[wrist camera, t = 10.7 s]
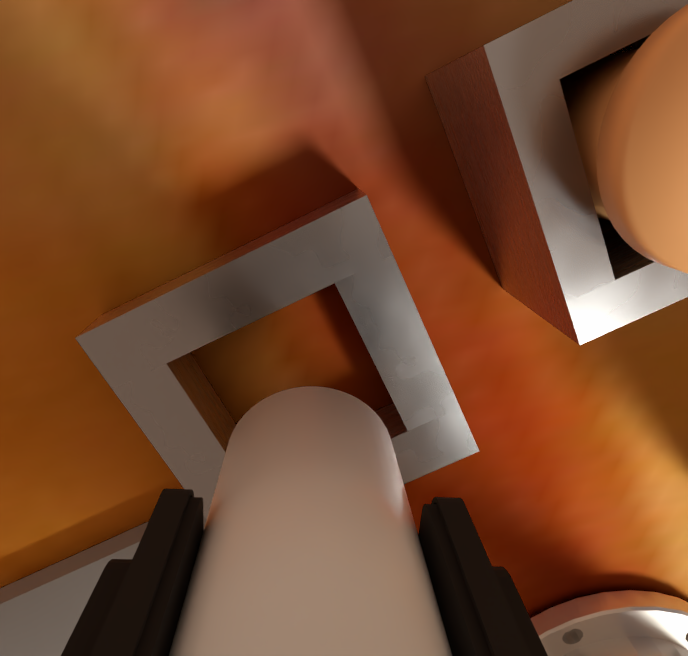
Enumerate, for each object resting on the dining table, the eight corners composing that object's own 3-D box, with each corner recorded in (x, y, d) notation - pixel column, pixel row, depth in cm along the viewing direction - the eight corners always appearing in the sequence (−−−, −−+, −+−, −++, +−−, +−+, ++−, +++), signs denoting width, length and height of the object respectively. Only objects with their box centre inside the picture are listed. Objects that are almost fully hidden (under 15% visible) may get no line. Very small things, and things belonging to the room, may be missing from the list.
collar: (461, 419, 19) (479, 450, 17) (241, 517, 19) (234, 558, 17) (358, 188, 15) (366, 194, 14) (101, 315, 16) (75, 338, 14)
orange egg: (704, 184, 15) (925, 208, 10) (538, 262, 15) (662, 325, 10) (668, -6, 13) (912, -103, 8) (480, 88, 14) (594, 55, 8)
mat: (327, 662, 22) (328, 684, 21) (126, 744, 23) (119, 770, 22) (208, 494, 19) (204, 512, 18) (-22, 598, 20) (-38, 621, 19)
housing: (705, 195, 16) (866, 216, 12) (502, 288, 17) (579, 345, 12) (658, -43, 14) (837, -134, 9) (424, 76, 15) (483, 45, 10)
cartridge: (402, 390, 13) (579, 839, 4) (383, 532, 14) (492, 1080, 6) (226, 382, 13) (54, 855, 4) (225, 528, 14) (94, 1108, 6)
